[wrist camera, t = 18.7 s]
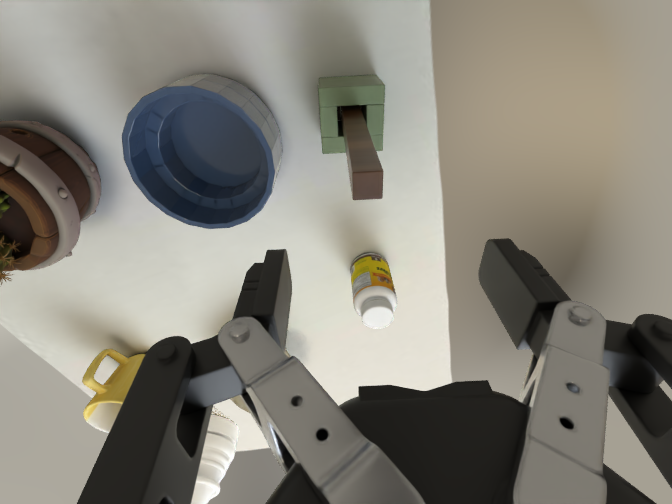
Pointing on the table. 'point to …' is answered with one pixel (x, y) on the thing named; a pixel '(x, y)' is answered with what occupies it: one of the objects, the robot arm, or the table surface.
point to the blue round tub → (203, 150)
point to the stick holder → (350, 93)
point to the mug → (109, 389)
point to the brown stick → (361, 156)
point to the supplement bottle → (373, 290)
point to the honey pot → (215, 458)
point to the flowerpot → (42, 195)
